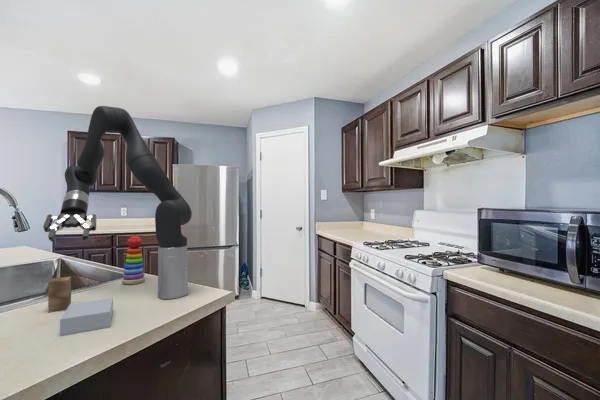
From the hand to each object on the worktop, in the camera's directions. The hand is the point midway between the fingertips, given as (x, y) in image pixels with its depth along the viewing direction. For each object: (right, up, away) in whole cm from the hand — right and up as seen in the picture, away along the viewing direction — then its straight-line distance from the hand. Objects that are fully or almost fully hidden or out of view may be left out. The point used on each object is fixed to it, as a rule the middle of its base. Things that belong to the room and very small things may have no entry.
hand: (68, 239), depth 95 cm
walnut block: (+6, -20, -10) cm, 23 cm away
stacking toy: (+12, -20, +18) cm, 29 cm away
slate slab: (+22, -20, -19) cm, 35 cm away
